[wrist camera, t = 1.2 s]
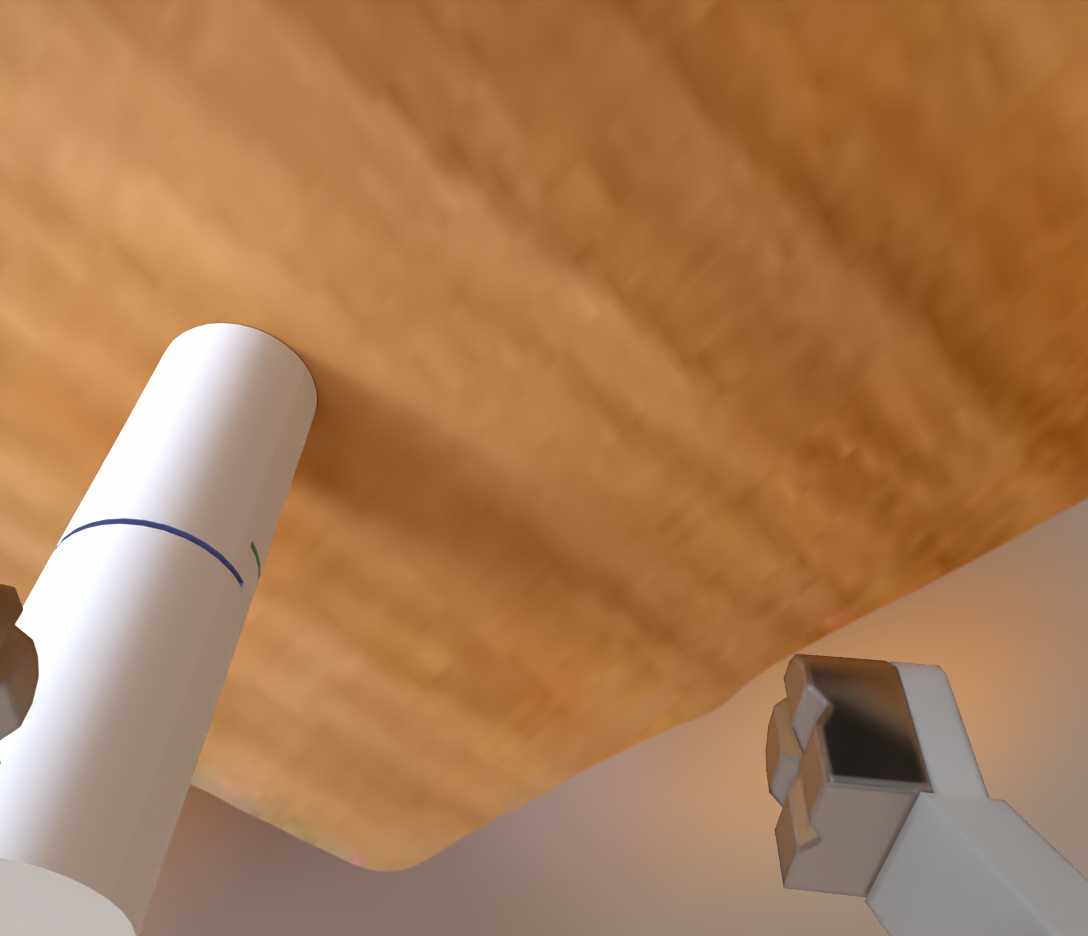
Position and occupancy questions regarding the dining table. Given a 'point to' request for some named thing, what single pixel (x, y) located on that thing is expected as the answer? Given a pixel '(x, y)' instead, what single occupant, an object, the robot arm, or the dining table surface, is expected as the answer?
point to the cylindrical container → (144, 630)
